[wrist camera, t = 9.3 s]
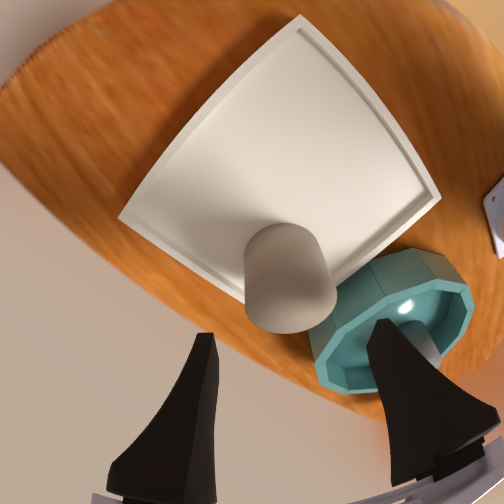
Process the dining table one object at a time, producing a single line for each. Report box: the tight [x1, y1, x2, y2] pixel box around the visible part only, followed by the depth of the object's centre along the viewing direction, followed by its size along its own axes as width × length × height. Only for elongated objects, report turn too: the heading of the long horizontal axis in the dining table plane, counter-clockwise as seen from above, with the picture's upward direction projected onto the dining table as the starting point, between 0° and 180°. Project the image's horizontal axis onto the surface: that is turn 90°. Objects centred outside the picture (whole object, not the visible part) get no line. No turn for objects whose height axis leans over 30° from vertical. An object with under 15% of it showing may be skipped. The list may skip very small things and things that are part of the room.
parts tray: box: [118, 14, 442, 304], centre depth 15 cm, size 14×13×1 cm
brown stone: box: [244, 223, 337, 334], centre depth 15 cm, size 5×5×4 cm
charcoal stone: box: [397, 320, 442, 369], centre depth 20 cm, size 5×5×4 cm
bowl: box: [307, 248, 475, 394], centre depth 20 cm, size 14×14×4 cm
